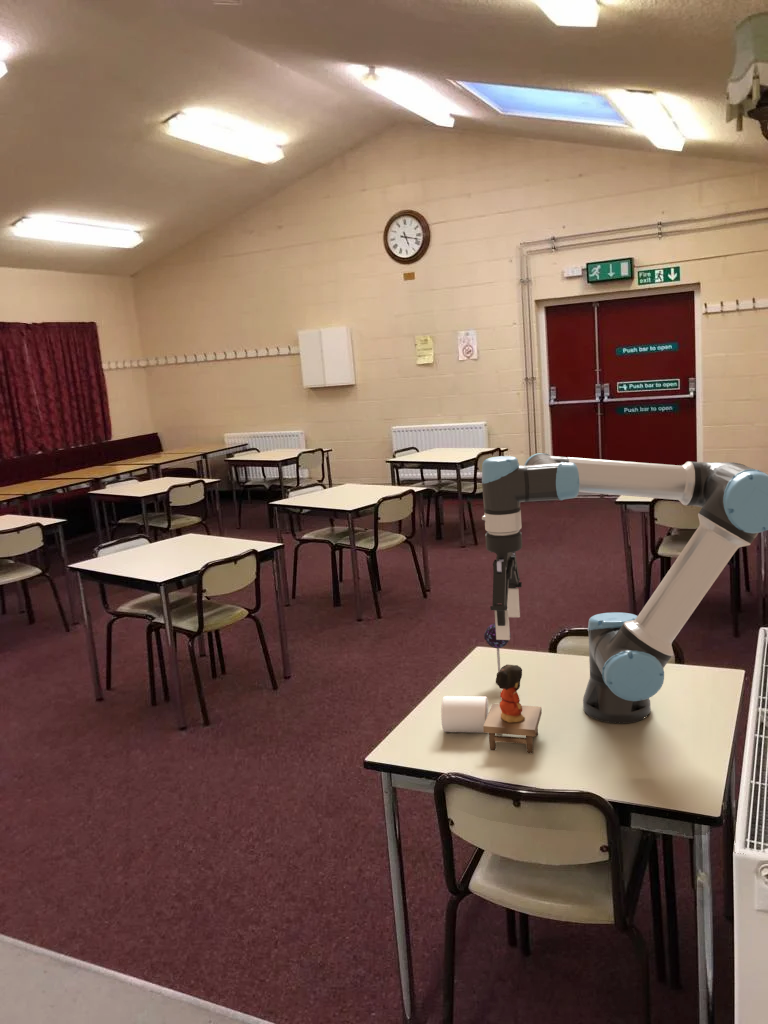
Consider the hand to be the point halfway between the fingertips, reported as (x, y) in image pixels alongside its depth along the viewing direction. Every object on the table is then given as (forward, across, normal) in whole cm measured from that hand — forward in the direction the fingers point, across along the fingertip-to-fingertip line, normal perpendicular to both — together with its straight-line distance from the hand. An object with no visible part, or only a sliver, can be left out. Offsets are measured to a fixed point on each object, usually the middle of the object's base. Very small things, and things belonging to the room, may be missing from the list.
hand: (508, 627), depth 169 cm
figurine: (+21, +1, 0) cm, 21 cm away
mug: (+27, -6, -12) cm, 30 cm away
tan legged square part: (+26, 0, 0) cm, 27 cm away
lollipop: (+27, -33, -9) cm, 43 cm away
